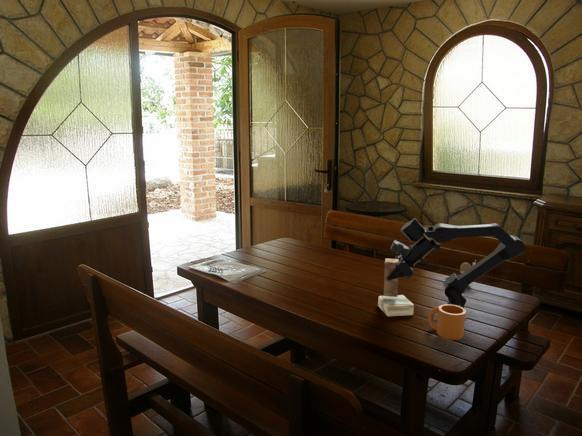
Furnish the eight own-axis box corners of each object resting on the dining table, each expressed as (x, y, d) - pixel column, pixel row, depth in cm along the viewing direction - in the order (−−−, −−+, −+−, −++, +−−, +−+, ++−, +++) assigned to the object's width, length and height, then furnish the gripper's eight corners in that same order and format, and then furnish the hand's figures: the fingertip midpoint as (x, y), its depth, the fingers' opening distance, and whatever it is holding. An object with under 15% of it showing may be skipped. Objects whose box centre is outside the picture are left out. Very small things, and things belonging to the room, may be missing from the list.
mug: (436, 322, 170) (439, 299, 168) (468, 334, 161) (471, 309, 159) (422, 330, 164) (425, 305, 162) (455, 342, 155) (457, 317, 153)
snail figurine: (474, 288, 205) (477, 261, 203) (458, 286, 207) (461, 260, 204) (472, 284, 211) (475, 258, 208) (457, 282, 212) (459, 256, 209)
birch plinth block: (413, 315, 176) (414, 304, 175) (387, 316, 174) (388, 305, 173) (402, 304, 186) (403, 294, 185) (377, 305, 184) (378, 295, 183)
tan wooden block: (397, 292, 181) (398, 258, 178) (397, 297, 176) (398, 263, 173) (384, 291, 182) (385, 258, 179) (383, 296, 177) (384, 262, 174)
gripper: (403, 228, 182) (373, 254, 187) (405, 240, 164) (371, 269, 169) (423, 249, 182) (393, 274, 187) (427, 263, 164) (393, 291, 169)
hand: (387, 276), depth 178 cm, fingers closed on tan wooden block, 5 cm apart
